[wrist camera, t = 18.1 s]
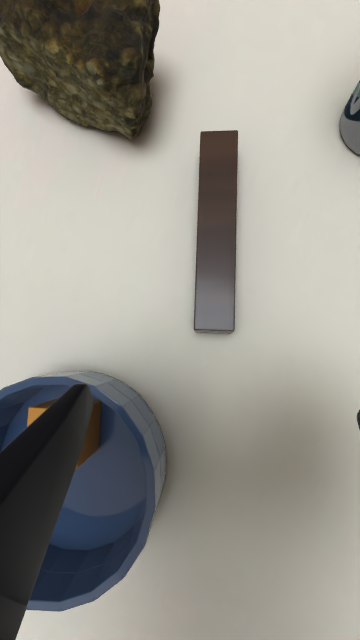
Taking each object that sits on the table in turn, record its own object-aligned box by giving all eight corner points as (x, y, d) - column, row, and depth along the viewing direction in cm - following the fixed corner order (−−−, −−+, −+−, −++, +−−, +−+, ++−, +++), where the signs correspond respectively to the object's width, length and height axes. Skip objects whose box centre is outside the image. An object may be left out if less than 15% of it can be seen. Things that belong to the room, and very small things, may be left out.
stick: (234, 331, 18) (238, 129, 19) (193, 329, 18) (200, 130, 20) (230, 333, 20) (234, 155, 22) (195, 332, 21) (201, 156, 22)
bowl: (168, 555, 19) (157, 617, 15) (-4, 549, 20) (-64, 605, 16) (164, 369, 21) (152, 374, 16) (3, 373, 22) (-49, 379, 17)
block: (98, 449, 20) (76, 469, 16) (53, 446, 20) (22, 465, 17) (101, 400, 20) (81, 410, 17) (57, 397, 21) (28, 407, 17)
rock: (-80, 31, 16) (-57, -133, 15) (10, 122, 25) (27, 24, 24) (137, 101, 17) (171, -48, 16) (147, 164, 26) (169, 72, 25)
